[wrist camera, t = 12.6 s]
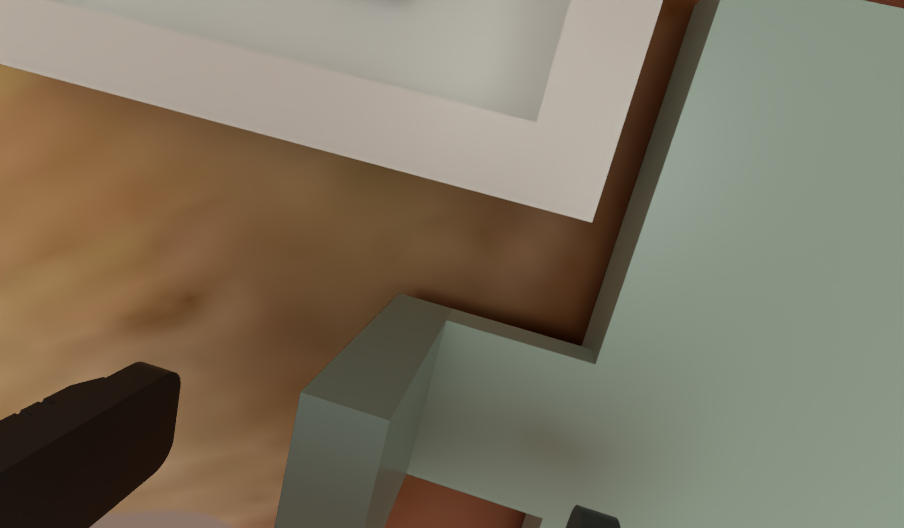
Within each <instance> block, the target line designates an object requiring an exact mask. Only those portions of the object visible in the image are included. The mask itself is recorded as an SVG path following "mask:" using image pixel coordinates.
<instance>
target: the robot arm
mask: <svg viewBox="0 0 904 528" xmlns="http://www.w3.org/2000/svg"><path fill="white" fill-rule="evenodd" d="M180 384H181V382H180V377H179V375H178V374H177V373H175V372H172V371H169V370H166V369H163V368H160V367H157V366H154V365H151V364H147V363H144V362H136V363H134V364H132V365H130V366H128V367H126V368H124V369H122V370H120V371H118V372H116V373H114V374H112V375H110V376H108V377H107V378H104V377H102V378H98V379H94V380H90V381H86V382H82V383H78V384H74V385H71V386H69V387H67V388H65V389H63V390H61V391H59V392H57V393H55V394H53V395H51V396H49V397H47V398H44V400H43V401H42V402H36V403H34V404H32V405H30V406H28V407H26V408H24V409H22V410H21V411H20V413H19V414H15V413H14V414H12V415H10V416H8V417H6V418H4V419H2V420H0V528H89V527H90V526H92V525H93V524H94V523H95V522H96V521H98V520H99V519H100V518H101V517H102V516H104V515H105V514H106V513H107V512H108V511H110V510H111V509H112V508H113V507H114V506H116V505H117V504H118V503H119V502H120V501H122V500H123V499H124V498H125V497H127V496H128V495H129V494H130V493H131V492H133V491H134V490H135V489H136V488H137V487H139V486H140V485H141V484H142V483H143V482H145V481H146V480H147V479H148V478H149V477H151V476H152V475H153V474H154V473H155V472H156V471H157V470H158V469H159V468H160V467H161V465H162V464H163V463H164V461H165V460H166V458H167V456H168V454H169V452H170V450H171V447H172V444H173V439H174V431H175V423H176V416H177V408H178V400H179V393H180ZM566 528H620V523H619V520H618V519H617V518H616V517H613V516H610V515H607V514H604V513H601V512H598V511H595V510H592V509H588V508H585V507H582V506H579V505H575V507H574V508H573V510H572V512H571V514H570V517H569V520H568V522H567V525H566Z"/></svg>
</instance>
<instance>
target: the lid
mask: <svg viewBox="0 0 904 528" xmlns="http://www.w3.org/2000/svg"><path fill="white" fill-rule="evenodd" d="M406 474H409V475H412V476H415V477H418V478H421V479H424V480H427V481H430V482H433V483H436V484H439V485H442V486H445V487H448V488H451V489H455V490H458V491H461V492H464V493H467V494H470V495H473V496H476V497H479V498H482V499H485V500H488V501H491V502H494V503H497V504H500V505H503V506H506V507H509V508H512V509H515V510H518V511H521V512H524V513H526V515H525V518H524V521H523V524H522V527H521V528H566V525H567V522H568V520H569V517H570V514H571V512H572V510H573V508H574V507H575V505H579V506H582V507H585V508H588V509H592V510H595V511H598V512H601V513H604V514H607V515H610V516H613V517H616V518H617V519H618V520H619V523H620V528H904V9H903V8H898V7H893V6H888V5H884V4H879V3H874V2H869V1H865V0H700V1H699V2H698V3H697V4H696V5H695V6H694V8H693V11H692V14H691V17H690V20H689V23H688V26H687V29H686V32H685V35H684V38H683V41H682V44H681V47H680V50H679V54H678V57H677V60H676V63H675V66H674V69H673V72H672V75H671V78H670V81H669V84H668V87H667V90H666V93H665V96H664V99H663V102H662V105H661V108H660V111H659V114H658V117H657V120H656V123H655V126H654V129H653V132H652V135H651V138H650V141H649V144H648V147H647V150H646V153H645V156H644V159H643V162H642V165H641V168H640V171H639V174H638V177H637V180H636V183H635V186H634V189H633V192H632V195H631V198H630V201H629V204H628V207H627V210H626V213H625V216H624V219H623V222H622V225H621V228H620V231H619V234H618V237H617V240H616V243H615V246H614V249H613V252H612V256H611V259H610V262H609V265H608V268H607V271H606V274H605V277H604V280H603V283H602V286H601V289H600V292H599V295H598V298H597V301H596V304H595V307H594V310H593V313H592V316H591V319H590V322H589V325H588V328H587V331H586V334H585V337H584V340H583V343H582V346H579V345H575V344H572V343H569V342H565V341H562V340H558V339H555V338H551V337H548V336H545V335H541V334H538V333H534V332H531V331H527V330H524V329H521V328H517V327H514V326H510V325H507V324H503V323H500V322H497V321H493V320H490V319H486V318H483V317H479V316H476V315H473V314H469V313H466V312H462V311H459V310H455V309H452V308H449V307H445V306H442V305H438V304H435V303H431V302H428V301H425V300H421V299H418V298H414V297H411V296H408V295H404V294H401V293H399V294H398V295H397V296H396V297H395V298H394V299H393V300H392V301H391V302H390V303H389V304H388V305H387V306H386V307H385V308H384V309H383V310H382V311H381V312H380V313H379V314H378V315H377V316H376V317H375V318H374V319H373V320H372V321H371V322H370V323H369V324H368V325H367V326H366V327H365V328H364V329H363V330H362V331H361V332H360V333H359V334H358V335H357V336H356V337H355V338H354V339H353V340H352V341H351V342H350V343H349V344H348V345H347V346H346V347H345V348H344V349H343V350H342V351H341V352H340V353H339V354H338V355H337V356H336V357H335V358H334V359H333V360H332V361H331V362H330V363H329V364H328V365H327V366H326V367H325V368H324V369H323V370H322V371H321V372H320V373H319V374H318V375H317V376H316V377H315V378H314V379H313V380H312V381H311V382H310V383H309V384H308V385H307V386H306V387H305V388H304V389H303V390H302V391H301V392H300V397H299V402H298V407H297V412H296V417H295V423H294V428H293V433H292V438H291V444H290V449H289V454H288V459H287V464H286V470H285V475H284V480H283V485H282V491H281V496H280V501H279V506H278V511H277V517H276V522H275V527H274V528H384V526H385V524H386V522H387V519H388V517H389V514H390V512H391V510H392V507H393V505H394V502H395V500H396V498H397V495H398V493H399V490H400V488H401V486H402V483H403V481H404V478H405V476H406Z"/></svg>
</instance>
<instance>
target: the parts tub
mask: <svg viewBox="0 0 904 528" xmlns="http://www.w3.org/2000/svg"><path fill="white" fill-rule="evenodd" d="M662 2H663V0H0V64H2V65H6V66H10V67H13V68H17V69H21V70H25V71H28V72H32V73H36V74H39V75H43V76H47V77H51V78H54V79H58V80H62V81H66V82H69V83H73V84H77V85H80V86H84V87H88V88H92V89H95V90H99V91H103V92H107V93H110V94H114V95H118V96H121V97H125V98H129V99H133V100H136V101H140V102H144V103H148V104H151V105H155V106H159V107H163V108H166V109H170V110H174V111H177V112H181V113H185V114H189V115H192V116H196V117H200V118H204V119H207V120H211V121H215V122H218V123H222V124H226V125H230V126H233V127H237V128H241V129H245V130H248V131H252V132H256V133H259V134H263V135H267V136H271V137H274V138H278V139H282V140H286V141H289V142H293V143H297V144H300V145H304V146H308V147H312V148H315V149H319V150H323V151H327V152H330V153H334V154H338V155H342V156H345V157H349V158H353V159H356V160H360V161H364V162H368V163H371V164H375V165H379V166H383V167H386V168H390V169H394V170H397V171H401V172H405V173H409V174H412V175H416V176H420V177H424V178H427V179H431V180H435V181H438V182H442V183H446V184H450V185H453V186H457V187H461V188H465V189H468V190H472V191H476V192H480V193H483V194H487V195H491V196H494V197H498V198H502V199H506V200H509V201H513V202H517V203H521V204H524V205H528V206H532V207H535V208H539V209H543V210H547V211H550V212H554V213H558V214H562V215H565V216H569V217H573V218H576V219H580V220H584V221H588V222H591V223H592V222H593V218H594V215H595V212H596V209H597V206H598V203H599V200H600V197H601V193H602V190H603V187H604V184H605V181H606V178H607V175H608V171H609V168H610V165H611V162H612V159H613V156H614V153H615V150H616V146H617V143H618V140H619V137H620V134H621V131H622V128H623V124H624V121H625V118H626V115H627V112H628V109H629V106H630V103H631V99H632V96H633V93H634V90H635V87H636V84H637V81H638V77H639V74H640V71H641V68H642V65H643V62H644V59H645V56H646V52H647V49H648V46H649V43H650V40H651V37H652V34H653V30H654V27H655V24H656V21H657V18H658V15H659V12H660V9H661V5H662Z"/></svg>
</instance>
